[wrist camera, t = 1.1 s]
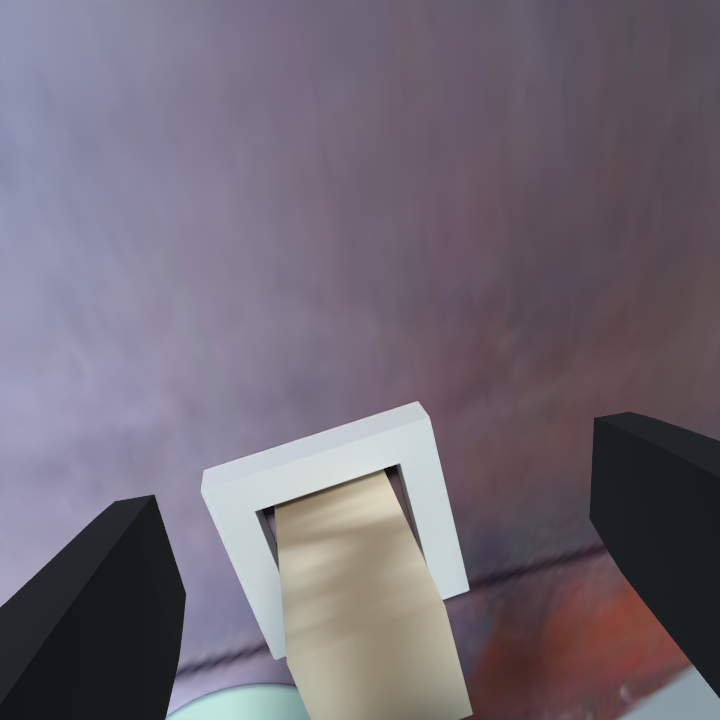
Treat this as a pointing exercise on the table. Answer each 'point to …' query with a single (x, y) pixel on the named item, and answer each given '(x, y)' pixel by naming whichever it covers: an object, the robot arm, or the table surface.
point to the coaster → (246, 704)
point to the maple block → (364, 609)
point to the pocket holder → (321, 470)
